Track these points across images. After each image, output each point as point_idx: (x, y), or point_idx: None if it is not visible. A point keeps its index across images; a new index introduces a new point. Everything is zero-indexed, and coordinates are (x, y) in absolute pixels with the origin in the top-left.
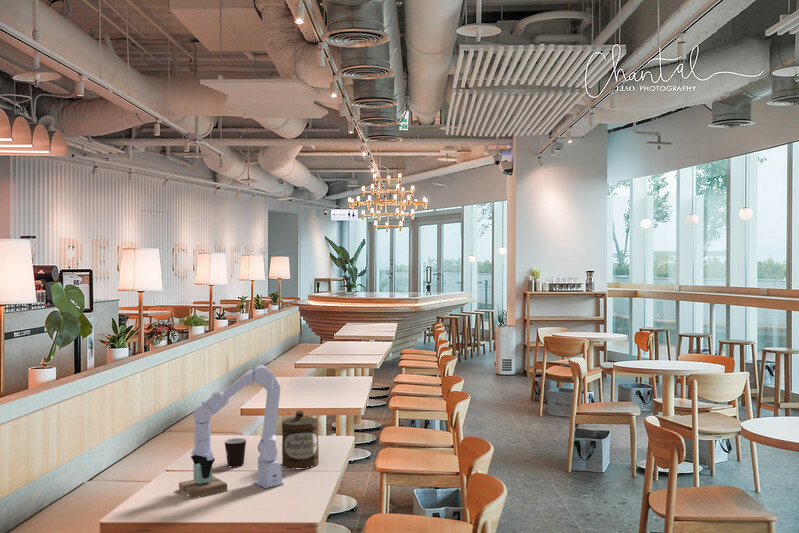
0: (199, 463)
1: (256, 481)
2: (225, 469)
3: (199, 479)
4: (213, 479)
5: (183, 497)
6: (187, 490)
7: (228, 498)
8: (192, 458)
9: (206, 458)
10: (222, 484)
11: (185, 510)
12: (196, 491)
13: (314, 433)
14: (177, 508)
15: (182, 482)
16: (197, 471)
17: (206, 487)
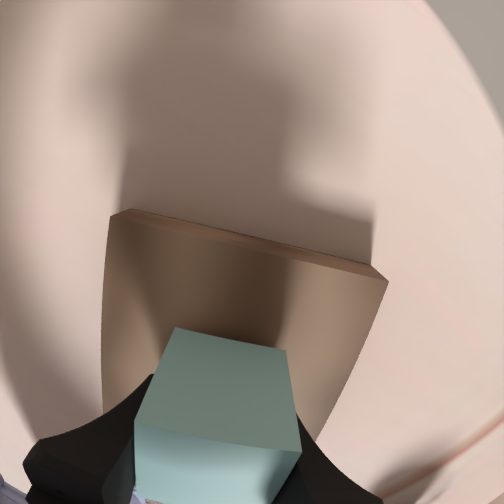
0: (270, 485)
1: (133, 490)
2: (382, 500)
3: (166, 349)
4: None
5: (199, 184)
6: (211, 235)
7: (18, 324)
8: (344, 501)
9: (26, 500)
10: (110, 406)
11: (14, 84)
12: (109, 246)
13: None
14: (62, 61)
15: (371, 300)
16: (186, 395)
17: (118, 330)
